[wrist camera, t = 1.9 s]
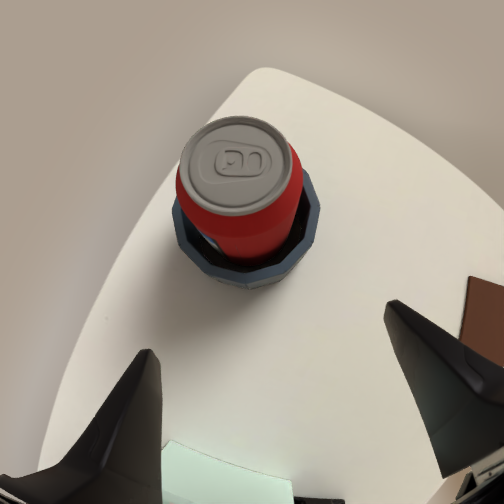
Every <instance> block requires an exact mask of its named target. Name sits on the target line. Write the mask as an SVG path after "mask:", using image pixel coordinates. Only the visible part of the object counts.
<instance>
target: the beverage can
mask: <svg viewBox="0 0 504 504" xmlns="http://www.w3.org/2000/svg"><path fill="white" fill-rule="evenodd" d="M302 187H303V171H302V166H301V163H300V160H299V158H298V156H297V154H296V152H295V150H294V149H293V148H292V146H291V145H290V144H289V143H288V142H287V140H286V139H285V137H284V136H283V135H282V134H281V133H280V131H278V130H277V129H276V128H275V127H274V126H272V125H271V124H269V123H267V122H265V121H263V120H260V119H257V118H254V117H248V116H230V117H225V118H221V119H218V120H215V121H213V122H211V123H209V124H207V125H205V126H204V127H202V128H201V129H200V130H198V131H197V132H196V133H195V134H194V135H193V136H192V137H191V138H190V140H189V141H188V142H187V144H186V146H185V147H184V150H183V152H182V155H181V158H180V164H179V166H178V170H177V174H176V194H177V198H178V201H179V204H180V206H181V208H182V210H183V211H184V213H185V214H186V216H187V217H188V218H189V219H190V221H191V222H192V223H193V224H194V226H195V227H196V228H197V229H198V231H199V232H200V233H201V234H202V235H203V236H204V238H205V239H206V240H207V241H208V242H209V243H210V245H211V246H212V247H213V248H214V249H215V250H216V251H217V252H218V253H219V254H220V255H221V256H222V257H223V258H224V259H226V260H227V261H229V262H231V263H234V264H237V265H241V266H256V265H260V264H263V263H265V262H267V261H269V260H271V259H272V258H274V257H275V256H276V255H277V254H278V253H279V252H280V251H281V249H282V248H283V246H284V245H285V243H286V240H287V238H288V235H289V232H290V229H291V226H292V223H293V220H294V217H295V213H296V210H297V206H298V203H299V199H300V195H301V191H302Z"/></svg>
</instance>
